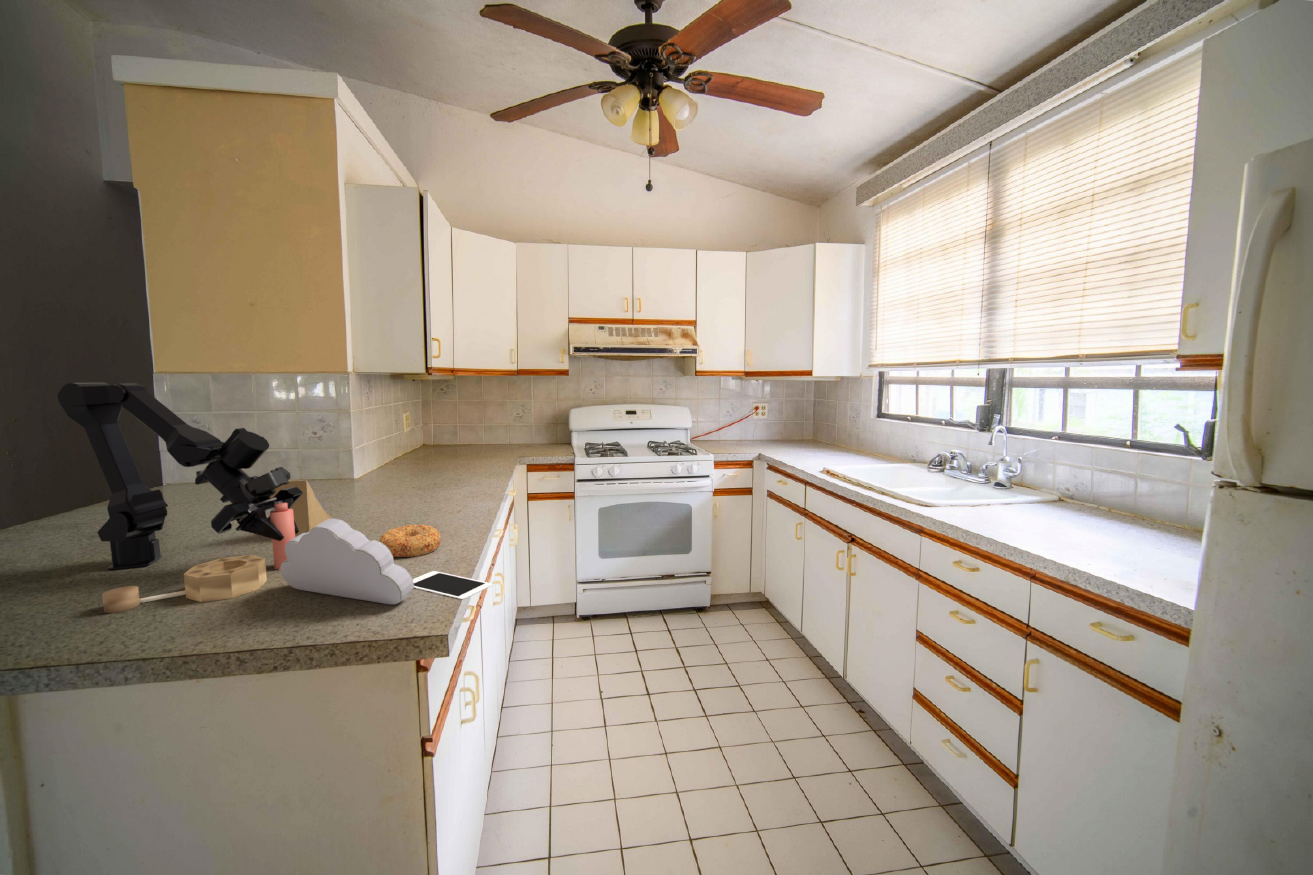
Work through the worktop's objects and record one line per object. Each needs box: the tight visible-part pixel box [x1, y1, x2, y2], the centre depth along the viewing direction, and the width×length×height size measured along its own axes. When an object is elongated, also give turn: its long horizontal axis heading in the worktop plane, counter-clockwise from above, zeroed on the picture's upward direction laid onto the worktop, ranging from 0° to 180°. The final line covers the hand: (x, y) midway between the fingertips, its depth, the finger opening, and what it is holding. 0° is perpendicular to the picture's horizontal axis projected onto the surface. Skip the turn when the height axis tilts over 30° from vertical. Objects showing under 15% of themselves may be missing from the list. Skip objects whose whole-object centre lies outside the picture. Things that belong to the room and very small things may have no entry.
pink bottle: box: [269, 503, 295, 570], centre depth 111 cm, size 4×4×14 cm
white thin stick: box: [139, 589, 186, 604], centre depth 95 cm, size 12×1×1 cm, turn 128°
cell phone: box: [412, 570, 493, 601], centre depth 102 cm, size 8×16×1 cm, turn 64°
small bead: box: [101, 585, 141, 614], centre depth 91 cm, size 4×4×3 cm
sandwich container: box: [270, 479, 332, 537], centre depth 136 cm, size 9×15×15 cm, turn 11°
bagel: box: [378, 524, 441, 558], centre depth 122 cm, size 13×14×5 cm
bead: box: [183, 554, 268, 603], centre depth 99 cm, size 11×11×4 cm
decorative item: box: [279, 517, 415, 605], centre depth 96 cm, size 28×10×15 cm, turn 72°
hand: (289, 536), depth 110 cm, fingers closed on pink bottle, 4 cm apart
